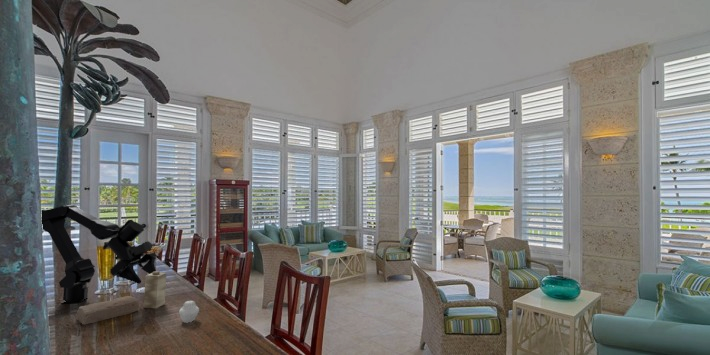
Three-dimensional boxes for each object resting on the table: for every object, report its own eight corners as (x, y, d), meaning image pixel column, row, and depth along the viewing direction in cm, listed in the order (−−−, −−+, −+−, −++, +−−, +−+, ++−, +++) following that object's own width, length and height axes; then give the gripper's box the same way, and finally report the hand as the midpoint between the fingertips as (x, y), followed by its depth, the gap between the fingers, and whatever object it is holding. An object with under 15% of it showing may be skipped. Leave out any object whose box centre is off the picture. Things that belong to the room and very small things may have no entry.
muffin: (175, 325, 113) (177, 303, 113) (181, 318, 119) (182, 297, 119) (195, 324, 114) (196, 303, 114) (200, 317, 120) (201, 297, 120)
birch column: (143, 307, 127) (145, 273, 128) (152, 303, 132) (154, 270, 133) (156, 308, 127) (158, 273, 128) (164, 303, 132) (166, 270, 133)
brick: (83, 325, 110) (84, 311, 110) (75, 319, 115) (76, 305, 115) (139, 312, 124) (140, 299, 124) (129, 307, 128) (130, 294, 129)
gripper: (119, 238, 122) (147, 271, 121) (153, 232, 141) (177, 260, 139) (97, 260, 122) (125, 292, 121) (134, 251, 141) (158, 278, 140)
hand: (148, 279), depth 130 cm, fingers open, 9 cm apart
